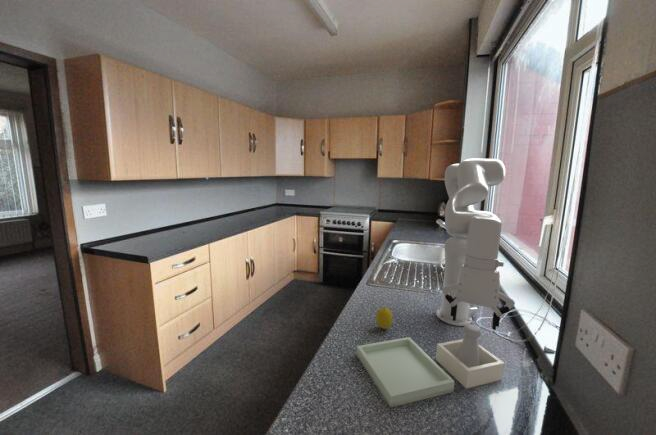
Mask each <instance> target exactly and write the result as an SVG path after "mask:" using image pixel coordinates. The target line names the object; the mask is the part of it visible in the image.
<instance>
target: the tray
mask: <svg viewBox="0 0 656 435" xmlns="http://www.w3.org/2000/svg"><path fill="white" fill-rule="evenodd" d="M356 357H357V359H359V361H360V363H361V364H362V366H363V367H364V369H365V370H366V372H367V373H368V376H370V378H371V379H372V381H373V383H374V385H376V387H377V389H378V391H379V393H381V395H382V397H383V399H384V400H385V402H386V403H387V404H388V406H389V408H394V407H399V406H403V405H406V404H411V403H415V402H419V401H422V400H426V399H431V398H434V397H439V396H443V395H446V394H450V393H454V390H455V384H456V383H455V380H454V379H453V378H452V377H451V376H450V375H449V374H448V373H447V372H446V371H445V370H444V369H443V368H442V367H440V366H439V364H437V363H436V361H435V360H433V358H431V357H430V356H429V354H427V353H426V352H425V351H424V350H423V349H422V348H421V347H420V346H419V345H418V344H417V342H415V341H414V339H412V338H411V337H410V336H408V337H403V338H396V339H390V340H384V341H378V342H372V343H368V344H362V345H361V344H360V345H357V346H356Z"/></svg>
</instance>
